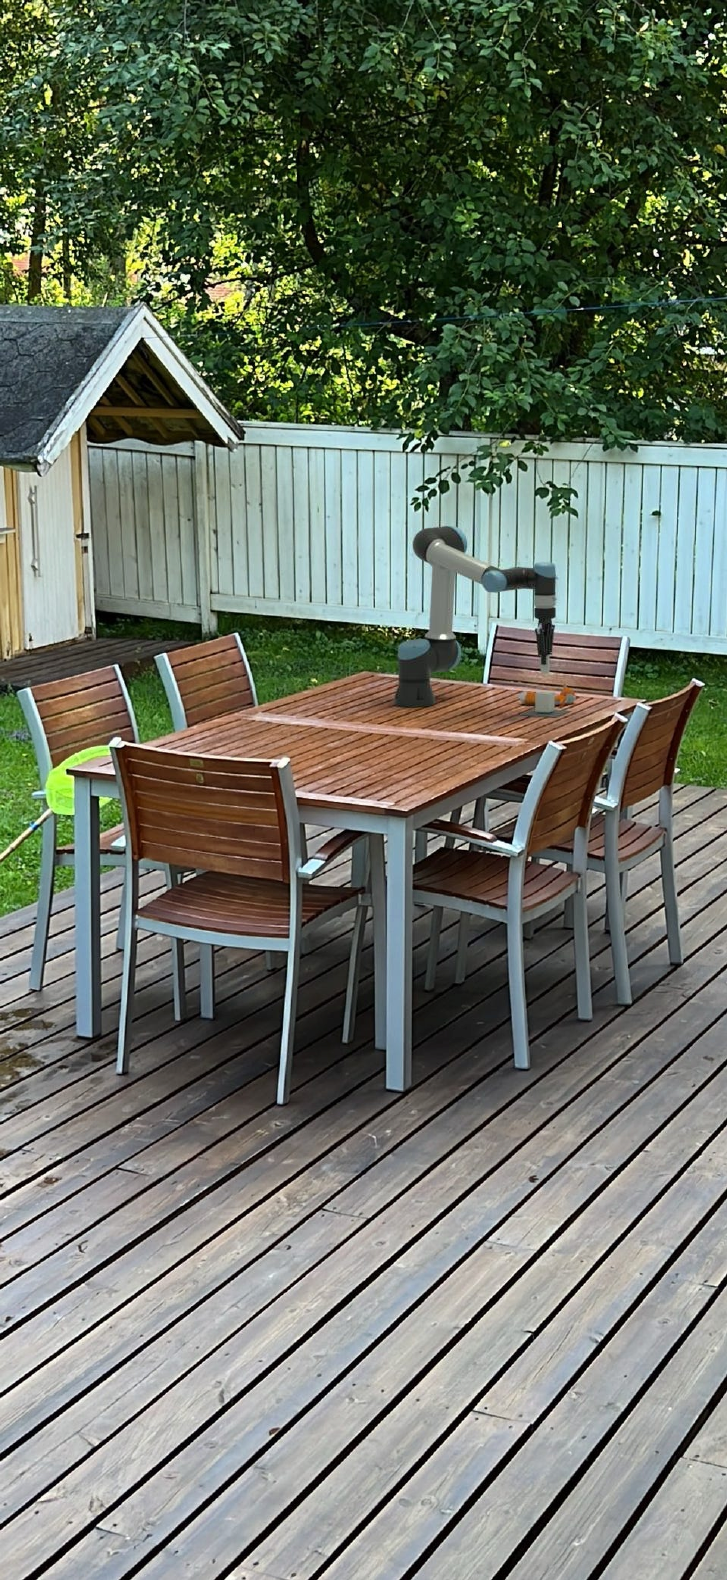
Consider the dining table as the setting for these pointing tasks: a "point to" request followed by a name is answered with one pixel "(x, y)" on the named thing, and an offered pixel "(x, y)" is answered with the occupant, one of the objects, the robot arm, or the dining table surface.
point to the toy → (564, 698)
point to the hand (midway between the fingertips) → (545, 673)
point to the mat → (552, 714)
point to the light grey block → (544, 701)
